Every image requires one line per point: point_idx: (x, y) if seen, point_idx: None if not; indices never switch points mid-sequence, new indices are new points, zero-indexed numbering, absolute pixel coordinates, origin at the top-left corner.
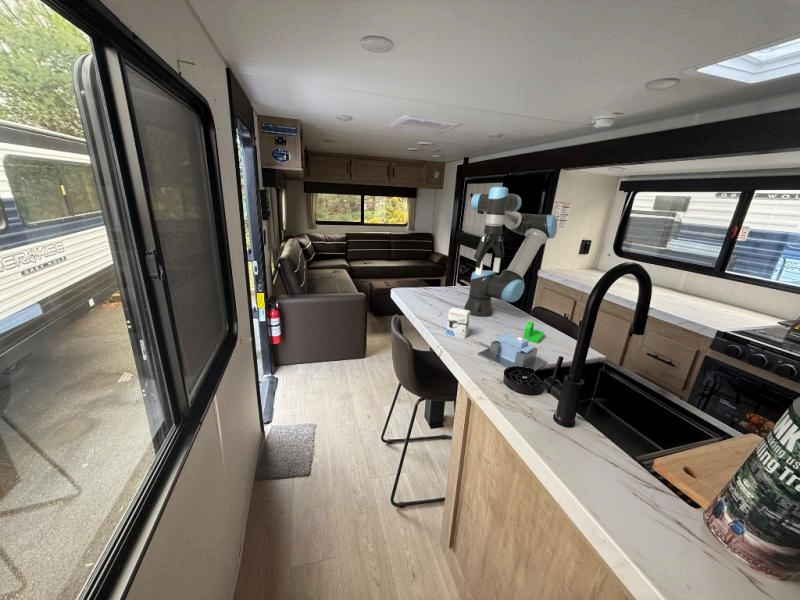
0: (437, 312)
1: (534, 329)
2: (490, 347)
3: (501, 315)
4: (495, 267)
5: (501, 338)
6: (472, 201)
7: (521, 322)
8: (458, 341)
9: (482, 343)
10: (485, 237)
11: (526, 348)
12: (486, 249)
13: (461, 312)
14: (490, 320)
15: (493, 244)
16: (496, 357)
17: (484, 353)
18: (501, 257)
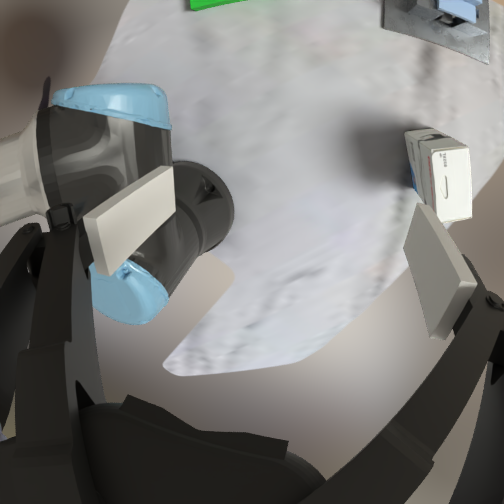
0: (293, 288)
1: (191, 2)
2: (481, 34)
3: None
4: (156, 208)
5: (462, 7)
6: None
7: (144, 75)
8: (458, 135)
9: (421, 72)
10: None
11: None
12: (458, 409)
13: (468, 170)
14: (212, 143)
15: (181, 472)
16: None
17: (478, 48)
18: (69, 219)
